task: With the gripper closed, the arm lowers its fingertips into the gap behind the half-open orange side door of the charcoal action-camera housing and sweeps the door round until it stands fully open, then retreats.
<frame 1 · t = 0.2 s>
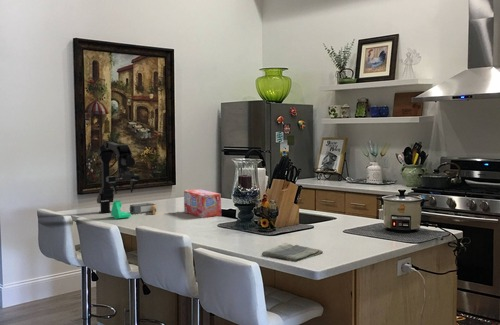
hand: (123, 193, 328), 14 cm above the countertop, fingers open, 9 cm apart
camera mount: (121, 218, 330), on the countertop
door: (155, 209, 343), point 2 cm above the countertop, hinge at 60.0°
box: (202, 214, 336), on the countertop
dish towel: (292, 256, 228), on the countertop
housing: (142, 212, 348), on the countertop
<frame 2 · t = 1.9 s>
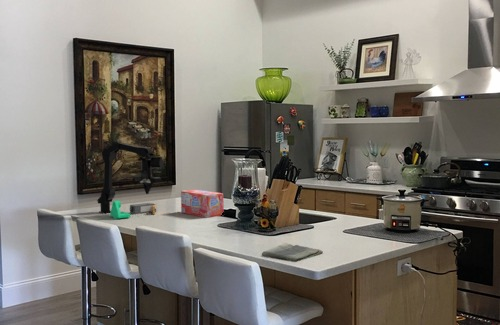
hand: (147, 193, 342), 12 cm above the countertop, fingers closed
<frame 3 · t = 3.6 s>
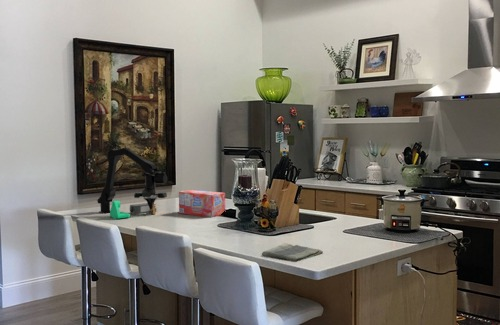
hand: (150, 209, 341), 3 cm above the countertop, fingers closed
door: (155, 209, 343), point 2 cm above the countertop, hinge at 60.5°, touching gripper
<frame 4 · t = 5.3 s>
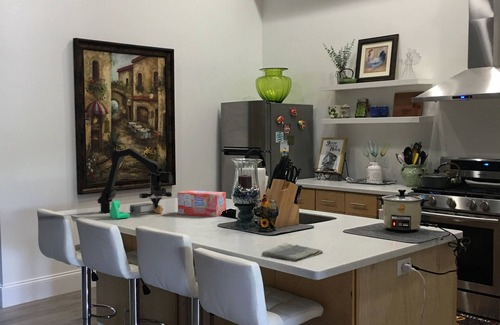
hand: (155, 209, 341), 3 cm above the countertop, fingers closed
door: (158, 208, 344), point 2 cm above the countertop, hinge at 84.8°, touching gripper
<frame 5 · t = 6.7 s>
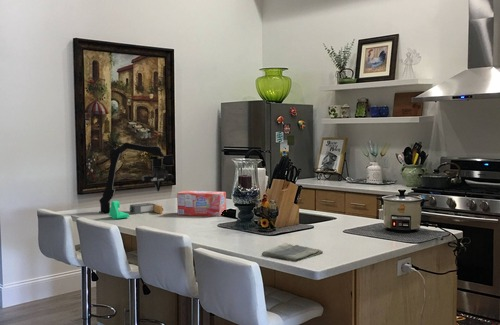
hand: (158, 191, 354), 12 cm above the countertop, fingers closed
door: (158, 208, 344), point 2 cm above the countertop, hinge at 85.9°
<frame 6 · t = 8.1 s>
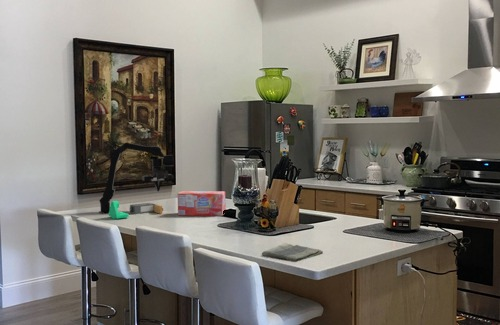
hand: (158, 191, 354), 12 cm above the countertop, fingers closed
at the end: door at +86° (first picture: +60°); camera mount moved 1.5 cm from its start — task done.
